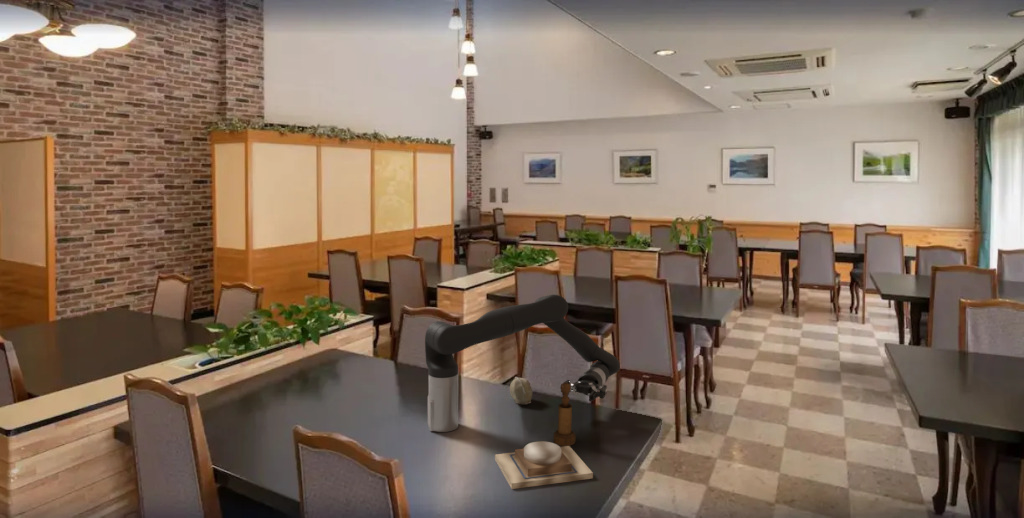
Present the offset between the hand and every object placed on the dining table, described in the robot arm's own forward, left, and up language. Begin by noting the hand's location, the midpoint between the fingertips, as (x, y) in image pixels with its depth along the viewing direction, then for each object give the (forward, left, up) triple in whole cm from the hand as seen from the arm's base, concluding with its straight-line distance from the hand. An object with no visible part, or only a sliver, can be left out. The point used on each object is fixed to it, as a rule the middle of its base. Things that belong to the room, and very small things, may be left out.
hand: (577, 396), depth 190 cm
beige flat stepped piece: (-19, -24, -10) cm, 32 cm away
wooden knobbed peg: (-7, -9, -11) cm, 15 cm away
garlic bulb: (-10, +26, -11) cm, 30 cm away
